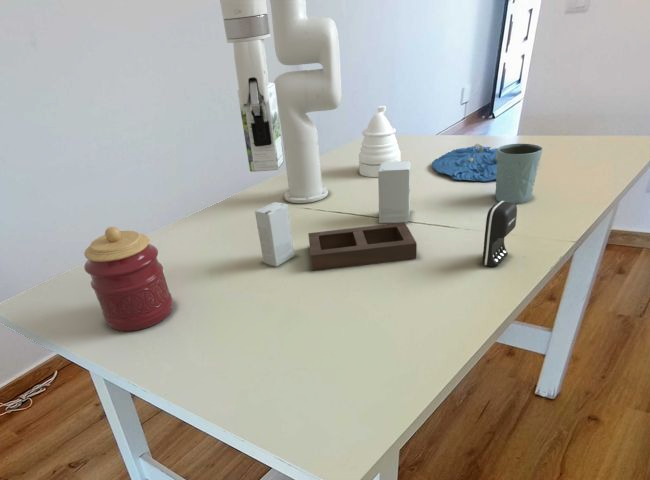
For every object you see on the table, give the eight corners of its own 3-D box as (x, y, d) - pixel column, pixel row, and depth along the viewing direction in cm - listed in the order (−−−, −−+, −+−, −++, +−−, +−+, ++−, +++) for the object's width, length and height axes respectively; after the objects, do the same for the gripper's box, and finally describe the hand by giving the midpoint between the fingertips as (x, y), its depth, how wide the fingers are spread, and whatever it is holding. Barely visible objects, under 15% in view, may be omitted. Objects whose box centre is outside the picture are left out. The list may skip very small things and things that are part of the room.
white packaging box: (409, 222, 120) (409, 169, 112) (378, 223, 121) (377, 170, 114) (410, 211, 125) (411, 160, 118) (381, 212, 127) (380, 161, 120)
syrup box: (257, 163, 101) (244, 83, 92) (285, 162, 100) (274, 81, 91) (249, 172, 96) (235, 89, 88) (279, 170, 95) (267, 86, 87)
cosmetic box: (281, 253, 113) (273, 200, 106) (295, 257, 110) (289, 203, 103) (262, 263, 109) (253, 210, 102) (276, 268, 107) (268, 213, 100)
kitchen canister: (138, 339, 89) (104, 247, 79) (92, 323, 95) (55, 237, 85) (188, 304, 97) (164, 218, 87) (143, 292, 104) (115, 210, 93)
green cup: (489, 203, 124) (495, 154, 117) (494, 190, 132) (499, 142, 125) (533, 205, 121) (541, 154, 114) (535, 191, 128) (543, 142, 121)
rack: (309, 247, 114) (308, 233, 112) (404, 236, 113) (404, 221, 111) (312, 270, 104) (311, 255, 102) (416, 258, 104) (416, 243, 102)
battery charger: (499, 269, 96) (507, 212, 90) (480, 265, 98) (486, 209, 92) (512, 255, 101) (521, 200, 94) (494, 252, 103) (501, 197, 96)
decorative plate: (552, 180, 137) (556, 161, 134) (442, 189, 139) (444, 170, 135) (518, 148, 160) (521, 131, 157) (424, 156, 162) (425, 140, 159)
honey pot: (372, 163, 163) (370, 103, 153) (407, 166, 156) (408, 103, 146) (351, 174, 155) (348, 112, 145) (388, 178, 148) (387, 113, 138)
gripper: (230, 29, 92) (247, 132, 102) (219, 36, 78) (241, 155, 88) (270, 24, 91) (283, 128, 102) (267, 30, 77) (283, 150, 88)
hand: (263, 139), depth 95 cm, fingers closed on syrup box, 6 cm apart
